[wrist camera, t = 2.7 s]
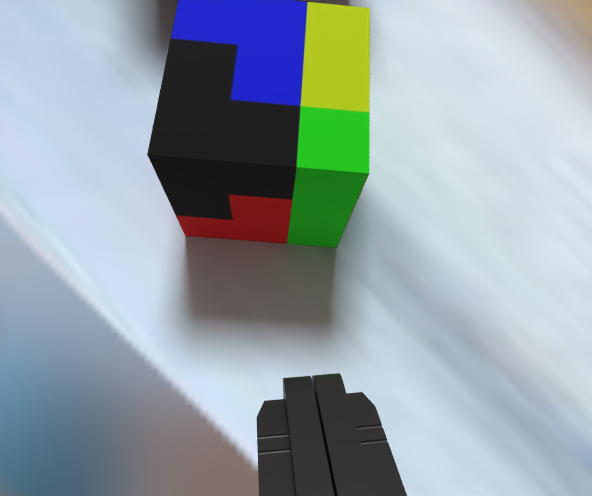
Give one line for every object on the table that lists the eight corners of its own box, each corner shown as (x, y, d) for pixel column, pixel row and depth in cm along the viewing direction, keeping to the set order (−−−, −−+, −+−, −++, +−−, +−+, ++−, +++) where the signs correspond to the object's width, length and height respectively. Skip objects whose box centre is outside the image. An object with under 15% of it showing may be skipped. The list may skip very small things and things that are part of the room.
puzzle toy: (205, 109, 33) (180, -11, 23) (340, 121, 33) (369, 7, 24) (185, 235, 29) (147, 154, 20) (336, 247, 30) (369, 173, 20)
